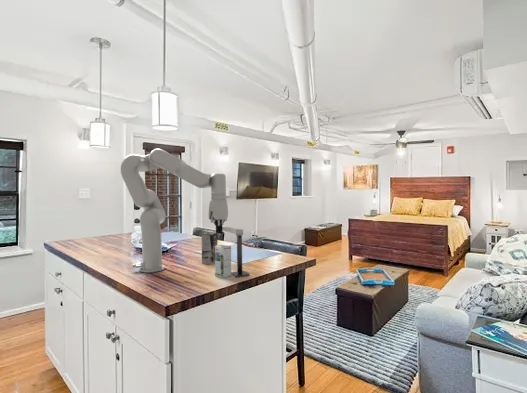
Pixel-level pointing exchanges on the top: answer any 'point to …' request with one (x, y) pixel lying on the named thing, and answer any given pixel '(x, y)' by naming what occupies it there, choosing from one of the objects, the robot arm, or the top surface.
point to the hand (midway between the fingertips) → (219, 233)
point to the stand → (239, 260)
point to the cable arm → (232, 230)
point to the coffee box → (208, 248)
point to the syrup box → (222, 261)
